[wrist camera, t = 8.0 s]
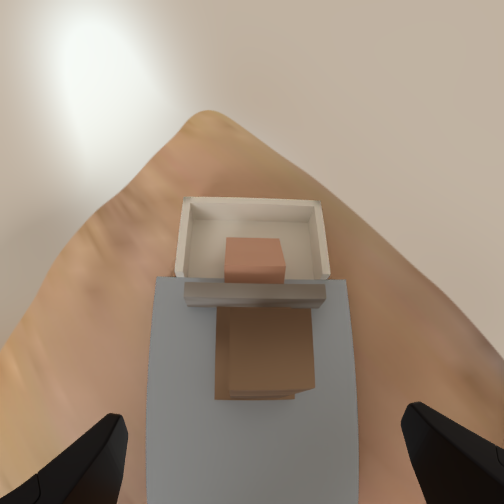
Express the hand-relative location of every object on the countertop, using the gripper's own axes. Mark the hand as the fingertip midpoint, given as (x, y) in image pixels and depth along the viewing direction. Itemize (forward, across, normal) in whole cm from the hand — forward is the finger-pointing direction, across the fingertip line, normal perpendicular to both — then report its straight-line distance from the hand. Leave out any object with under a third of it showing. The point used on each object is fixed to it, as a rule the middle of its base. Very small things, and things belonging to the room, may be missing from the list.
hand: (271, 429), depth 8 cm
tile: (+16, 0, +1) cm, 16 cm away
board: (+10, 0, +8) cm, 13 cm away
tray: (+19, 0, 0) cm, 19 cm away
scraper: (+12, 0, +5) cm, 12 cm away
